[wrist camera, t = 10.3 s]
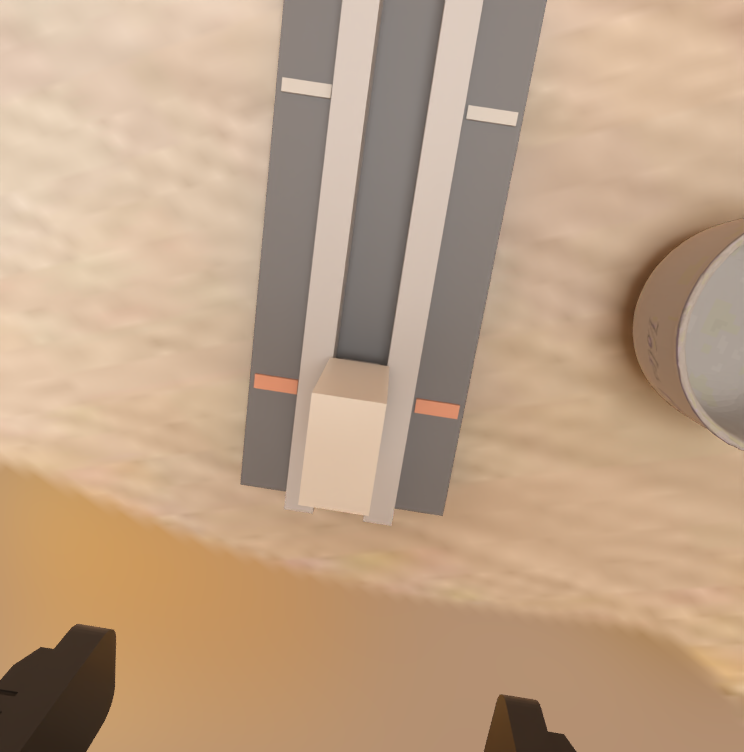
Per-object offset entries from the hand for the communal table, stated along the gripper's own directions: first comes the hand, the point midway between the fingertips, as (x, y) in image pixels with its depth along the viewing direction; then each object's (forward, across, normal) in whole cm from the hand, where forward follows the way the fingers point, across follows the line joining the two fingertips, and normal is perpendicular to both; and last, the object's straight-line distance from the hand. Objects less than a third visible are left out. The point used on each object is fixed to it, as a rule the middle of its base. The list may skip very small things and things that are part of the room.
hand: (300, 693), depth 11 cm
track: (+22, 0, -7) cm, 23 cm away
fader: (+20, 0, 0) cm, 20 cm away
